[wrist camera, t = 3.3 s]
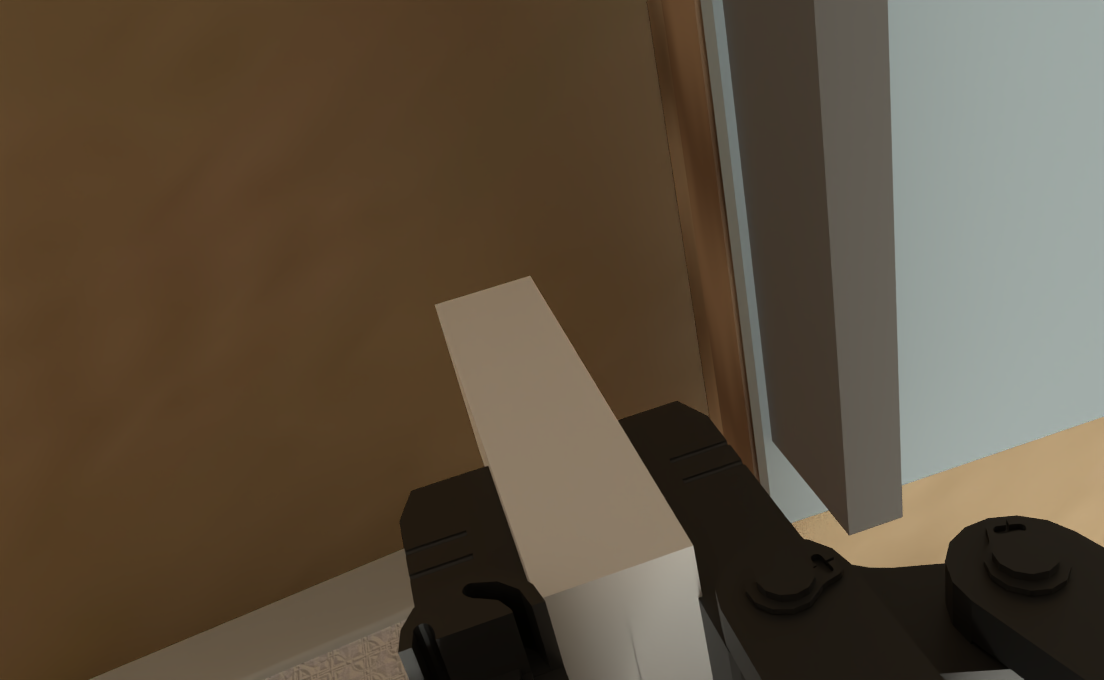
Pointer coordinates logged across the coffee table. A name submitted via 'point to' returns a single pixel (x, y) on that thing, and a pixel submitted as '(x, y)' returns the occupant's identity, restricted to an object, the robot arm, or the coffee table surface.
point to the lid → (910, 234)
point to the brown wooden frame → (703, 216)
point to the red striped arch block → (300, 635)
